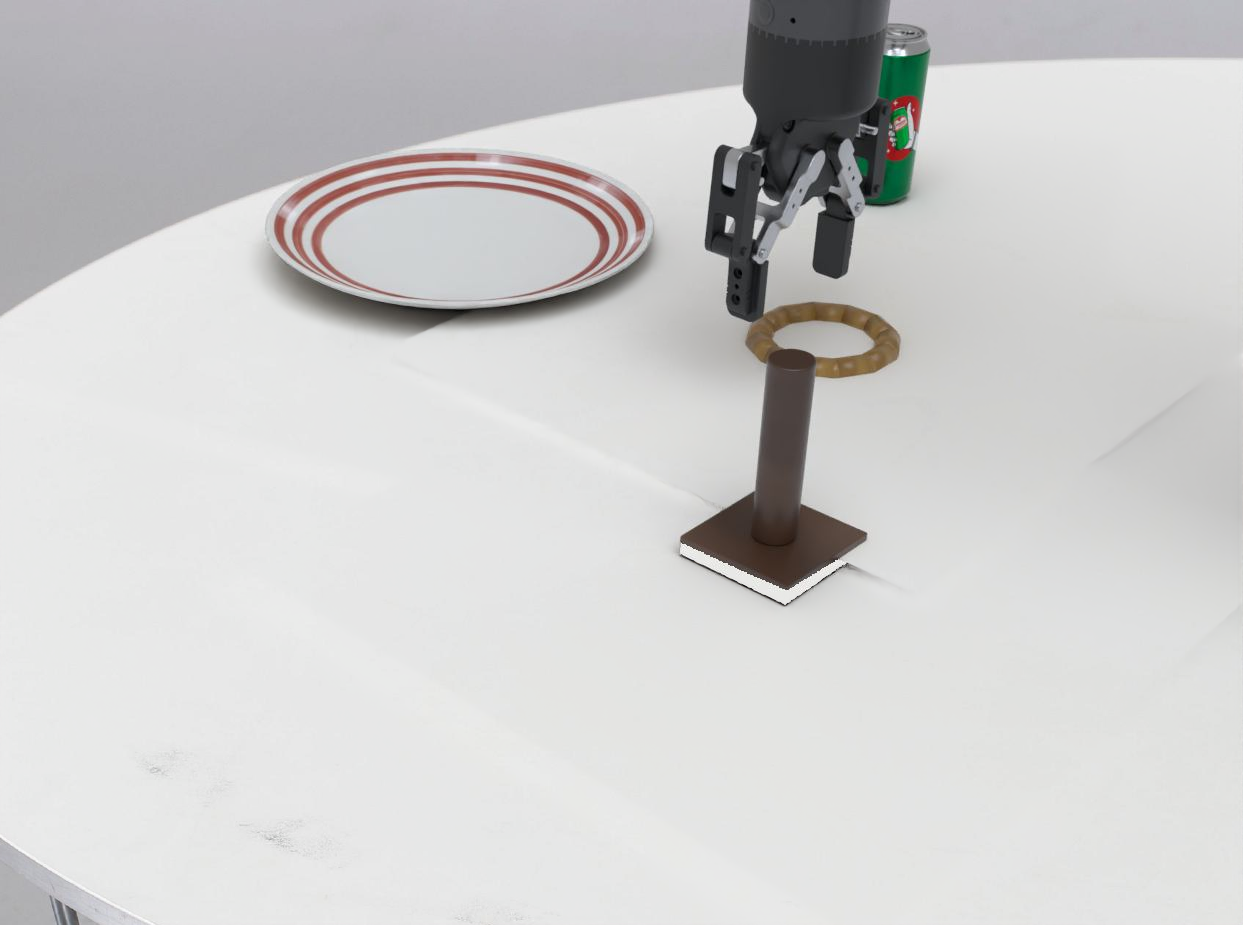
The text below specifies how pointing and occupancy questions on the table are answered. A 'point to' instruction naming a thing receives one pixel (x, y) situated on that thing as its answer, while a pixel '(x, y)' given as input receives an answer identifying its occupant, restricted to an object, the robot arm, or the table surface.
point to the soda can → (901, 106)
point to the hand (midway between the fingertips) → (788, 295)
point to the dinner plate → (459, 227)
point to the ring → (868, 322)
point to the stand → (779, 491)
